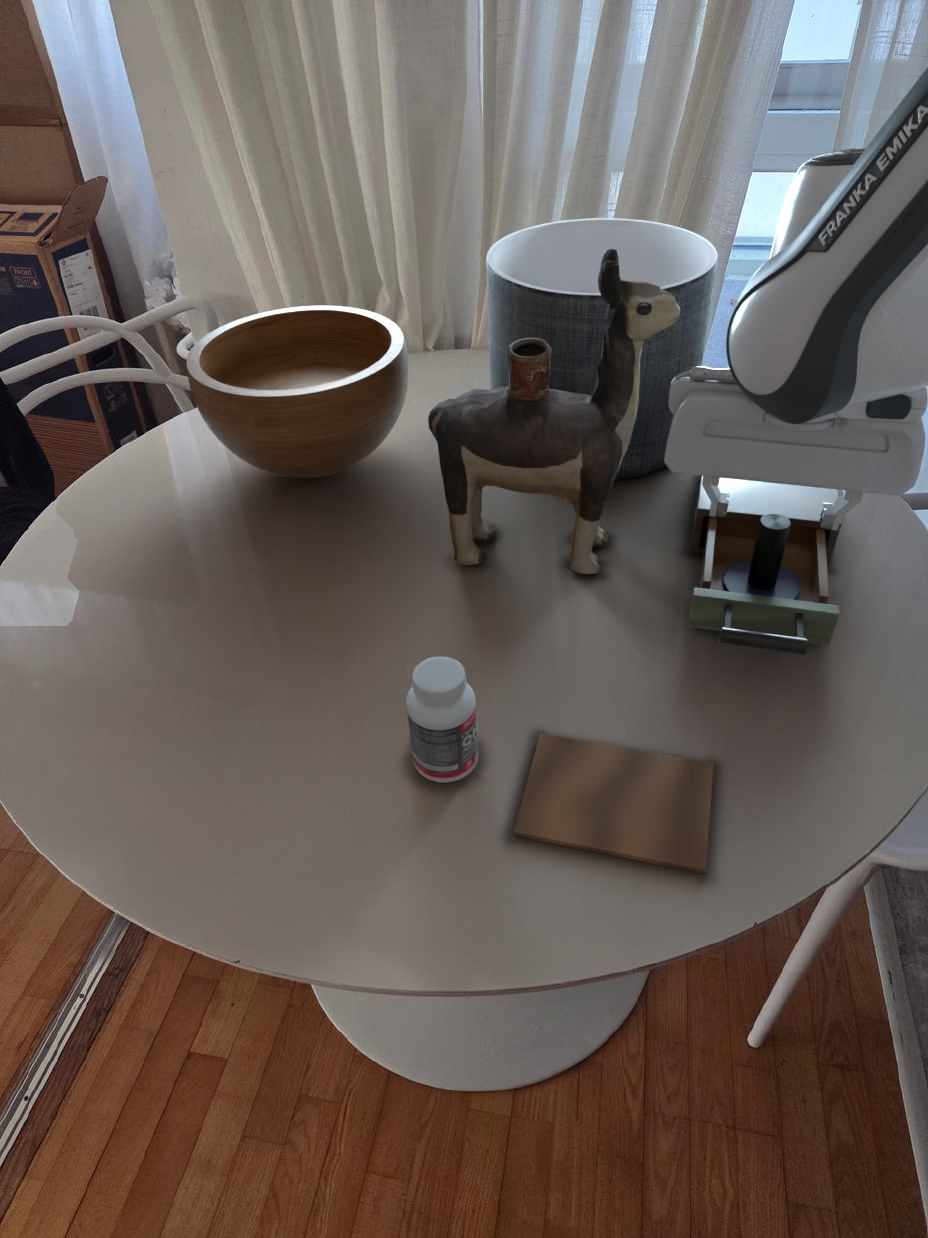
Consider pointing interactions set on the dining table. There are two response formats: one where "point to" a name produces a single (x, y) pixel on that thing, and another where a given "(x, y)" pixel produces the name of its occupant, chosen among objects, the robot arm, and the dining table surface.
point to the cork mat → (618, 802)
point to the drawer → (761, 615)
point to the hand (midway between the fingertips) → (771, 519)
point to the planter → (601, 310)
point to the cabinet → (766, 507)
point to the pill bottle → (442, 720)
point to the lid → (765, 564)
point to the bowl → (301, 387)
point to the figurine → (551, 425)
